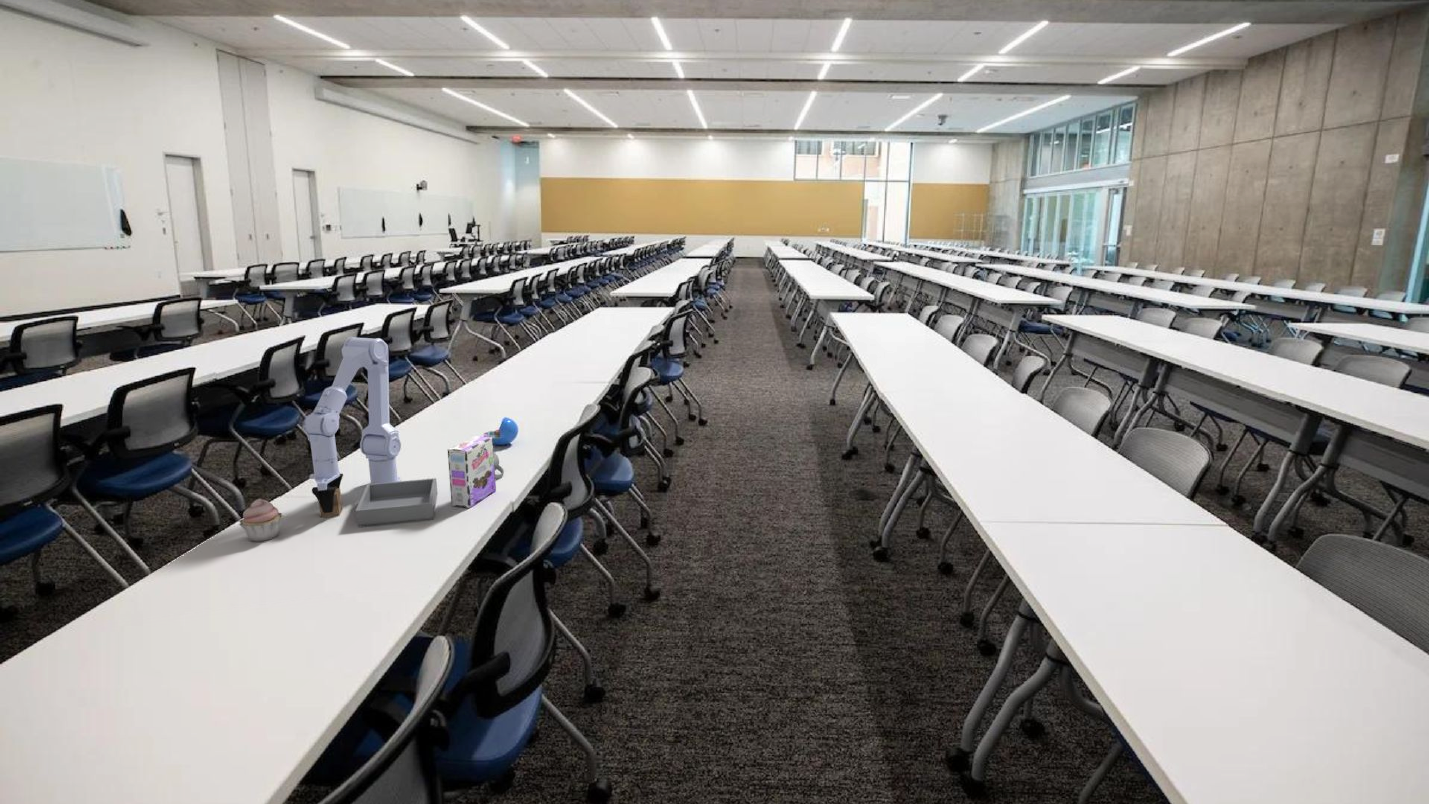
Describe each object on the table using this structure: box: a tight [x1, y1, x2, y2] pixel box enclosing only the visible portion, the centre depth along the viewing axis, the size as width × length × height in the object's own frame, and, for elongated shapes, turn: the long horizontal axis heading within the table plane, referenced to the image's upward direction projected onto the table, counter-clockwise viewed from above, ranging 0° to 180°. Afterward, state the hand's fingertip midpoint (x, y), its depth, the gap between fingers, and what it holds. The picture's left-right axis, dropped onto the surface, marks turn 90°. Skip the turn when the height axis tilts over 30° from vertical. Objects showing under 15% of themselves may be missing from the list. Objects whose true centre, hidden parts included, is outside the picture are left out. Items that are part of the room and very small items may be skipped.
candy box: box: [447, 435, 497, 509], centre depth 207 cm, size 14×6×16 cm, turn 165°
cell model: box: [483, 416, 519, 446], centre depth 257 cm, size 10×12×10 cm
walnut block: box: [318, 488, 343, 518], centre depth 197 cm, size 4×4×6 cm
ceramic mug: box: [493, 450, 505, 480], centre depth 226 cm, size 11×8×8 cm
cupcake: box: [238, 498, 284, 542], centre depth 182 cm, size 9×9×10 cm
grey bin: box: [355, 477, 438, 528], centre depth 200 cm, size 20×18×4 cm
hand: (330, 507), depth 197 cm, fingers open, 7 cm apart
